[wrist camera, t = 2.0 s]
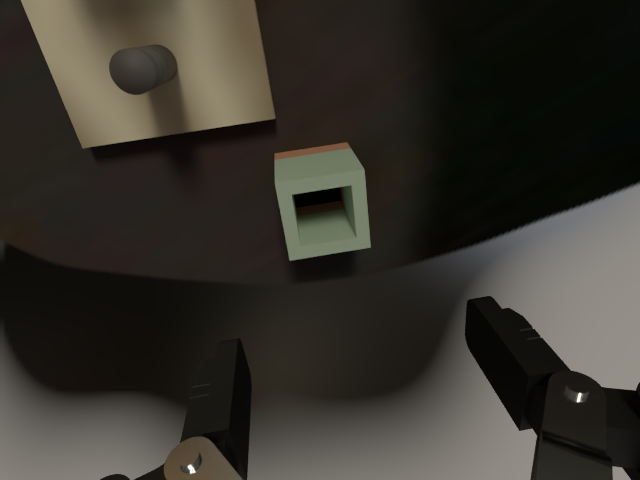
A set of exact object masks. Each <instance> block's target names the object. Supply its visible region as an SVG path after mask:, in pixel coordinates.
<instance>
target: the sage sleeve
mask: <svg viewBox="0 0 640 480" xmlns="http://www.w3.org/2000/svg"><path fill="white" fill-rule="evenodd" d="M275 187H276V192H277V197H278V202H279V207H280V213H281V218H282V223H283V228H284V233H285V238H286V244H287V249H288V254H289V259H290V261H291V260H297V259H303V258H309V257H316V256H322V255H328V254H334V253H340V252H346V251H352V250H358V249H364V248H370V247H371V246H370V233H369V220H368V208H367V195H366V183H365V170H364V168H363V166H362V165H361V163H360V162H359V160H358V159H357V157H356V156H355V154H354V152H353V151H352V149H351V148H350V146H349V145H348V143H347V142H346V143H339V144H333V145H327V146H320V147H314V148H307V149H301V150H295V151H288V152H282V153H275ZM337 187H340V189H341V198H342V201H336V202H329V203H323V204H317V205H311V206H305V207H298V208H296V205H295V200H294V194H300V193H306V192H312V191H318V190H325V189H331V188H337Z"/></svg>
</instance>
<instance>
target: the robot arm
mask: <svg viewBox="0 0 640 480" xmlns="http://www.w3.org/2000/svg"><path fill="white" fill-rule="evenodd" d="M465 338H466V342H467V345H468V348H469V350H470V352H471V353H472V355H473V357H474V358H475V360H476V362H477V363H478V365H479V366H480V368H481V370H482V371H483V373H484V374H485V376H486V378H487V379H488V381H489V382H490V384H491V386H492V387H493V389H494V390H495V392H496V393H497V395H498V397H499V399H500V400H501V402H502V403H503V405H504V407H505V408H506V410H507V411H508V413H509V415H510V416H511V418H512V420H513V421H514V423H515V424H516V426H517V427H518V429H519V431H521V430H526V429H531V428H533V430H534V431H535V433H536V435H537V440H536V446H535V453H534V460H533V467H532V473H531V480H613V477H612V466H616V467H622V468H623V469H624V470H625V472H626V473H627V475H628V476H629V477H630V479H631V480H640V383H639V384H638V386H637V389H636V391H633V390H623V389H612V388H604V387H601V386H600V385H599V384H598V383H597V382H596V381H595V380H593V379H592V378H590V377H588V376H586V375H584V374H582V373H579V372H574V371H571V370H570V369H569V368H568V367H567V366H566V365H565V364H564V362H563V361H562V360H561V359H560V358H559V357H558V356H557V354H556V353H555V352H554V351H553V350H552V349H551V347H550V346H549V345H548V344H547V343H546V342H545V341H544V340H543V338H541V337H540V335H539V334H538V333H537V332H536V330H535V329H533V328H532V326H531V325H530V324H529V323H528V321H527V320H526V319H525V318H524V317H523V316H522V315H520V314H518V313H517V312H515V311H513V310H512V309H510V308H505V309H502V308H501V307H500V306H499V305H498V303H497V302H496V301H495V300H494V299H493V298H492V297H491V296H487V297H481V298H475V299H469V300H468V301H467V308H466V324H465ZM251 383H252V382H251V374H250V369H249V366H248V362H247V359H246V355H245V352H244V348H243V345H242V342H241V339H240V338H238V339H232V340H226V341H220V342H218V343H217V348H216V353H215V358H212V359H206V360H204V361H203V362H202V364H201V365H200V367H199V368H198V369H197V371H196V372H195V377H194V382H193V388H192V391H191V395H190V400H189V405H188V410H187V414H186V419H185V423H184V428H183V432H182V437H181V441H180V444H178V445H177V446H176V447H175V448H174V449H173V450H172V451H171V452H170V454H169V455H168V457H167V459H166V461H165V463H164V464H163V465H161V466H160V467H158V468H157V469H155V470H153V471H151V472H149V473H147V474H145V475H143V476H141V477H139V478H137V479H135V480H247V470H248V469H247V468H248V451H249V432H250V412H251V392H252V384H251ZM100 480H130V479H129V478H128V477H127V476H124V475H121V474H114V475H110V476H107V477H104V478H102V479H100Z"/></svg>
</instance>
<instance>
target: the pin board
mask: <svg viewBox="0 0 640 480" xmlns="http://www.w3.org/2000/svg"><path fill="white" fill-rule="evenodd" d="M21 2H22V4H23V6H24V9H25V11H26V14H27V16H28V18H29V21H30V23H31V26H32V28H33V30H34V33H35V35H36V38H37V40H38V42H39V45H40V47H41V50H42V52H43V54H44V57H45V59H46V62H47V64H48V66H49V69H50V71H51V74H52V76H53V78H54V81H55V83H56V86H57V88H58V90H59V93H60V95H61V98H62V100H63V102H64V105H65V107H66V110H67V112H68V114H69V117H70V119H71V122H72V124H73V126H74V129H75V131H76V134H77V136H78V138H79V141H80V143H81V146H82V148H88V147H95V146H101V145H108V144H114V143H121V142H127V141H134V140H140V139H147V138H153V137H160V136H166V135H173V134H179V133H186V132H192V131H199V130H205V129H212V128H218V127H225V126H231V125H238V124H244V123H251V122H257V121H264V120H270V119H275V111H274V105H273V99H272V94H271V88H270V82H269V77H268V71H267V66H266V60H265V54H264V49H263V43H262V37H261V32H260V26H259V21H258V15H257V9H256V4H255V0H21Z"/></svg>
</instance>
